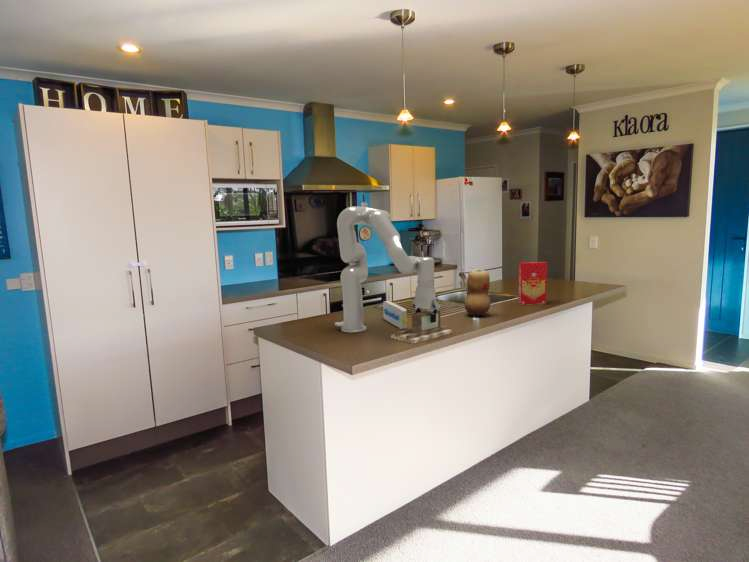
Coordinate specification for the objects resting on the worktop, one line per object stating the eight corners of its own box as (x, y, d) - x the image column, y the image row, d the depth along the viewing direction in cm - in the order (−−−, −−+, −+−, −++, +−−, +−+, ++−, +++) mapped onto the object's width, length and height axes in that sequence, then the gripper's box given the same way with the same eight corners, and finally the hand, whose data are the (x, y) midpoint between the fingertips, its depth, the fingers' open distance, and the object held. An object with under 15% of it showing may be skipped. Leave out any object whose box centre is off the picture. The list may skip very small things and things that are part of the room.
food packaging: (520, 305, 282) (521, 263, 279) (518, 303, 288) (519, 262, 284) (546, 304, 282) (547, 262, 278) (543, 303, 287) (544, 261, 283)
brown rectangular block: (419, 334, 216) (419, 315, 215) (411, 332, 220) (411, 313, 219) (440, 329, 225) (440, 310, 223) (433, 327, 229) (433, 309, 227)
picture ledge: (412, 343, 207) (411, 337, 207) (390, 337, 218) (390, 331, 218) (452, 333, 223) (452, 326, 223) (431, 328, 234) (431, 322, 234)
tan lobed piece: (478, 319, 249) (478, 272, 246) (459, 315, 260) (459, 269, 257) (495, 315, 257) (496, 269, 254) (476, 311, 268) (477, 267, 265)
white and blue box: (381, 319, 258) (381, 300, 256) (388, 318, 259) (387, 300, 257) (403, 332, 227) (403, 312, 226) (411, 331, 228) (410, 311, 227)
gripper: (407, 282, 223) (407, 318, 226) (433, 287, 210) (433, 325, 213) (418, 281, 228) (418, 316, 231) (445, 285, 215) (445, 322, 217)
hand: (425, 320), depth 222 cm, fingers open, 9 cm apart
